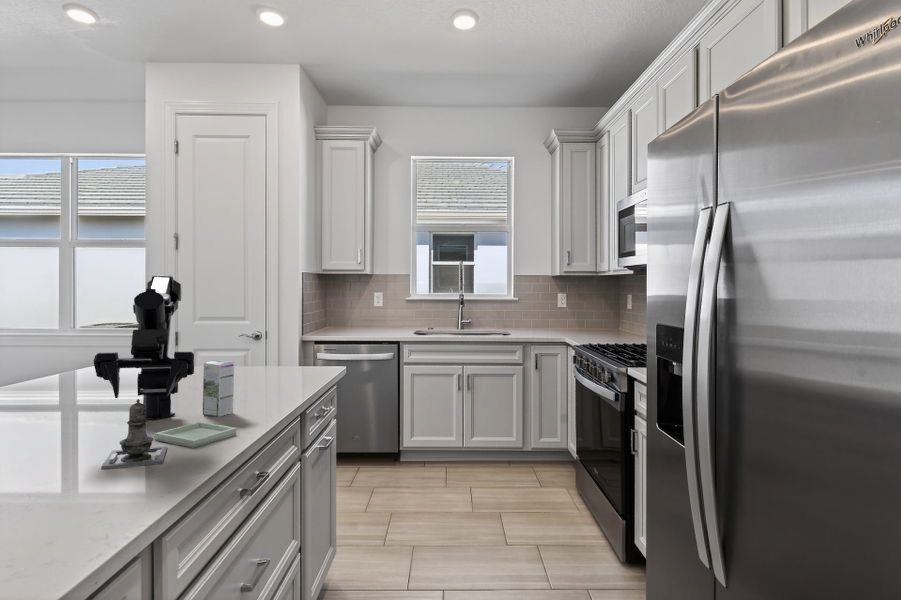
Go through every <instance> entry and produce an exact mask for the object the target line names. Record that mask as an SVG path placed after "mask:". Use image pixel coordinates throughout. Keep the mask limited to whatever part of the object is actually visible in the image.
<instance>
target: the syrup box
mask: <svg viewBox="0 0 901 600" xmlns="http://www.w3.org/2000/svg"><path fill="white" fill-rule="evenodd" d="M202 383H203V385H202V415H203V416H209V417H215V418H220V417H224V415H225V416H228V415H231V414H233V413H234V393H235V391H234V388H235V387H234V385H235V384H234V383H235V361H226V360H212V361H206V362H203V382H202ZM227 414H228V415H227Z"/></svg>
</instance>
